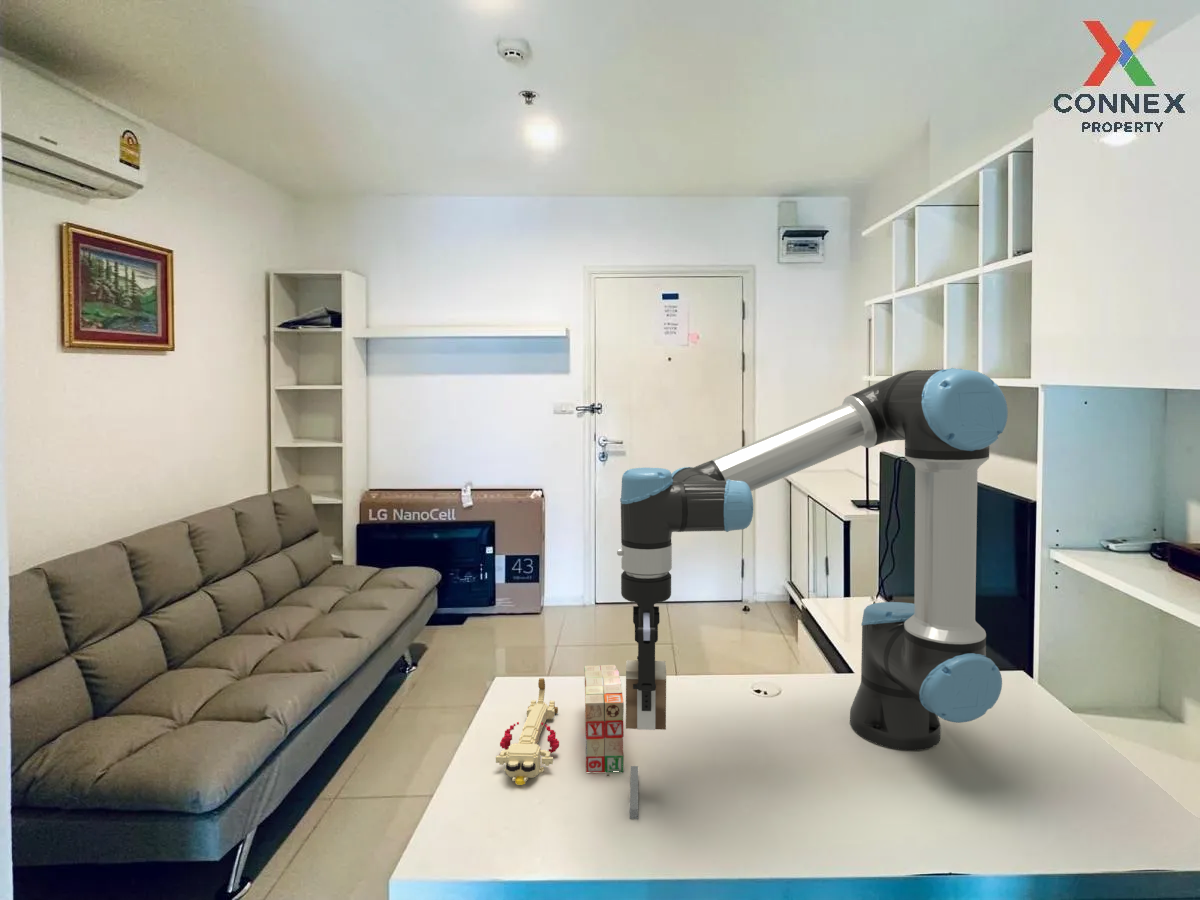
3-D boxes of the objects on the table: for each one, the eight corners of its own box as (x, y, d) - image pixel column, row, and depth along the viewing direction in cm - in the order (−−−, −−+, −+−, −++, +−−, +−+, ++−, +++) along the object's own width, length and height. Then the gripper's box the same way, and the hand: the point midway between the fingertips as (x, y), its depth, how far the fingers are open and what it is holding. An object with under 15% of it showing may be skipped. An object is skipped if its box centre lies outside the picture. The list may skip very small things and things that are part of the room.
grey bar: (638, 775, 110) (638, 766, 110) (638, 819, 99) (637, 808, 99) (630, 775, 110) (630, 765, 110) (629, 818, 99) (629, 808, 99)
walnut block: (664, 716, 106) (665, 661, 105) (665, 729, 102) (666, 671, 101) (626, 715, 106) (626, 660, 105) (625, 728, 102) (625, 671, 101)
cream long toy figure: (517, 719, 131) (487, 785, 106) (517, 675, 131) (487, 730, 106) (568, 721, 131) (550, 787, 106) (568, 676, 131) (550, 732, 106)
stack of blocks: (585, 711, 132) (584, 649, 131) (617, 710, 132) (616, 649, 131) (585, 774, 111) (584, 702, 109) (624, 773, 111) (623, 701, 109)
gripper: (622, 556, 110) (623, 694, 113) (619, 588, 93) (620, 750, 96) (668, 557, 110) (668, 695, 112) (674, 589, 93) (673, 751, 95)
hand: (646, 720), depth 104 cm, fingers closed on walnut block, 4 cm apart
